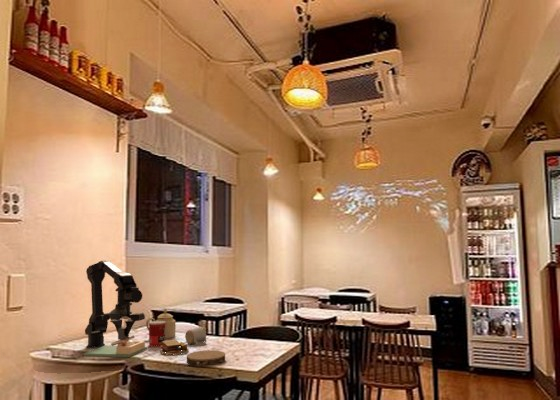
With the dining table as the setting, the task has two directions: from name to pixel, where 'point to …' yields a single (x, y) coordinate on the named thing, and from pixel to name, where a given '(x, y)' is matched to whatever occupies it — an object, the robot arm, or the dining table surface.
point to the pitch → (118, 350)
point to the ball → (129, 343)
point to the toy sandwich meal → (173, 347)
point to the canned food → (156, 333)
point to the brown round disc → (206, 358)
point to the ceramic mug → (196, 336)
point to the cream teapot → (166, 324)
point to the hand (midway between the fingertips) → (123, 335)
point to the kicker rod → (122, 337)
